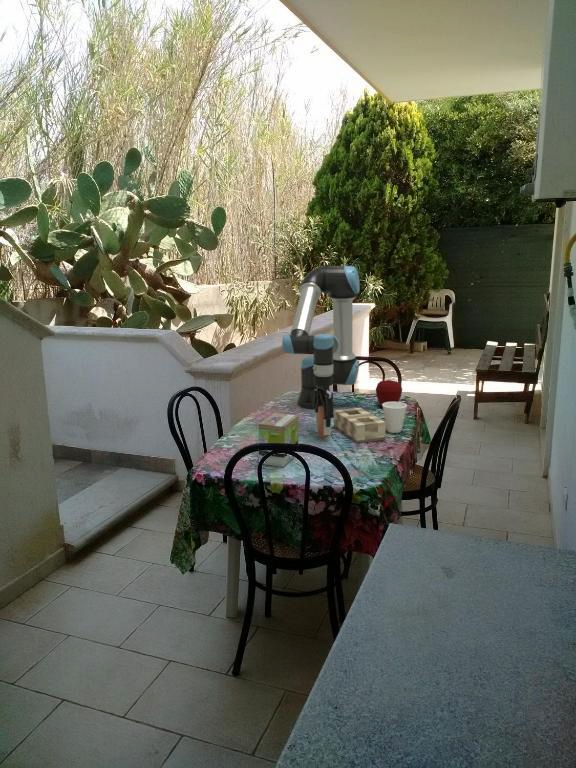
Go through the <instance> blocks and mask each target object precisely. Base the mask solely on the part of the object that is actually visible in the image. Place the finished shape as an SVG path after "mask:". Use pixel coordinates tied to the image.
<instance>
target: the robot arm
mask: <svg viewBox="0 0 576 768" xmlns="http://www.w3.org/2000/svg"><path fill="white" fill-rule="evenodd" d="M360 283H361V282H360V277H359V272H358V269H357V268H356V266H353V265H352V266H350V265H321V266H317V267H315V268H313V269H312V270H311V271H309V272H308V273H307V274H306V275H305V276H304V278H303V279H302V281H301V283H300V285H299V294H300V295H299V299H298V303H297V307H296V309H295V310H296V311H295V315H294V318H293V321H292V327H291V329H290V334H285V335H284V336H283V337H282V340H281V341H282V342H281V347H282V352H284V353H285V354H291V355H294V354H295V355H310V356H306V357H303V358H302V360H301V363H300V364H301V366H300V370H301V371H300V373H301V374H300V377H301V379H300V380H301V382H300V383H301V389H300V392H299V395H298V399H297V406H298V407H300V408H303V409H311V410H314V412H315V429H316V430H318V407H319V406H323V408H324V415H325V418H323V419H324V435H328V436H329V435H331V434H332V419H334V392H331V390H330V387H331V386H333V385H337V386H338V385H340V386H353V385H355V384H356V383H357V380H358V379H357V378H358V375H359V374H358V373H359V368H360V360H359V359H357V358H356V355H355V353H354V352H353V301H354V300H355V299H356V298H357V294H360V289H361V288H360V286H361V285H360ZM323 293H325V294H329V299H331V301H332V313H333V314H332V315H333V316H332V320H333V321H332V322H333V323H332V324H333V325H332V328H333V332H332V333H333V334H330V333H319V334H315V335H310V334H311V333H310V332H311V328H312V323H313V319H314V316H315V311H316V306H317V302H318V299H319V298H320V297H321V296H322V295H321V294H323Z"/></svg>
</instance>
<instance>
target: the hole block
mask: <svg viewBox="0 0 576 768" xmlns="http://www.w3.org/2000/svg"><path fill="white" fill-rule="evenodd" d="M333 412H334V418H333V428H335V429H336V430H337V431H338V432H340V431H341V433H342V434H343V435H345V436H347V437H348V438H349V439H350V440H351V441H353V442H355V443H356V444H360V443H369V442H376V441H383V440H386V422H385V420H382V419H381V418H379V417H377V416H375V415H374V414H372V413H371V412H368V411H367V410H365V409H363V408H362V407H357V408H356V407H355V408H347V409H337V410H333Z"/></svg>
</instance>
